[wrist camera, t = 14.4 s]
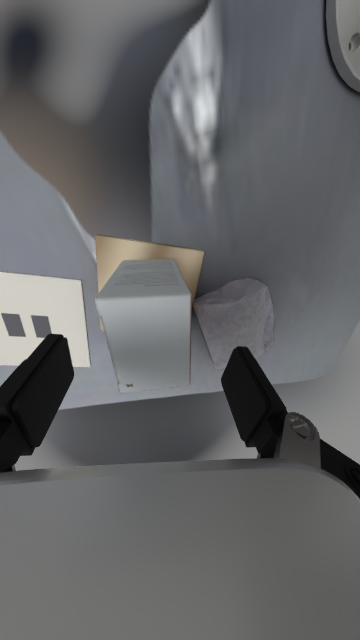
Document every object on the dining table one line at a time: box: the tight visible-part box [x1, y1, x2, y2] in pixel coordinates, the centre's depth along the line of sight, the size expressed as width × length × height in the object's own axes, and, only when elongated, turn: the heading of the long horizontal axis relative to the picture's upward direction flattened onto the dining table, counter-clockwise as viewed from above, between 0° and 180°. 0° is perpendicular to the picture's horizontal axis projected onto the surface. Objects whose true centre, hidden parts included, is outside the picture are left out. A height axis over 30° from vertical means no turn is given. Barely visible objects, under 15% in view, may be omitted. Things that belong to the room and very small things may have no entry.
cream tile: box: [0, 271, 91, 367], centre depth 22 cm, size 13×13×1 cm
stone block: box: [193, 278, 274, 370], centre depth 25 cm, size 12×5×10 cm
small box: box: [94, 258, 192, 393], centre depth 16 cm, size 8×6×10 cm
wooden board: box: [95, 234, 204, 331], centre depth 21 cm, size 11×11×1 cm
